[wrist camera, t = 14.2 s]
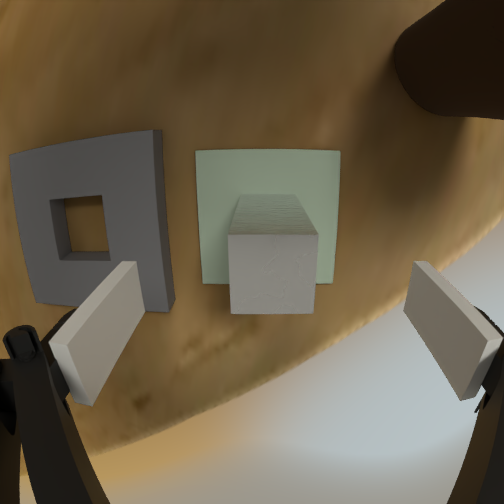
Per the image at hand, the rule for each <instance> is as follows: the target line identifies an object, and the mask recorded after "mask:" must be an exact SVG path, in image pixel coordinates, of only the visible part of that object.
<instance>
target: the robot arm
mask: <svg viewBox="0 0 504 504" xmlns="http://www.w3.org/2000/svg"><path fill="white" fill-rule="evenodd" d="M404 312H405V314H406V315H407V317H408V318H409V320H410V321H411V323H412V324H413V326H414V327H415V329H416V330H417V332H418V333H419V335H420V336H421V338H422V339H423V341H424V342H425V344H426V346H427V347H428V349H429V350H430V352H431V353H432V355H433V357H434V358H435V360H436V361H437V363H438V365H439V366H440V368H441V369H442V371H443V373H444V374H445V376H446V378H447V379H448V381H449V383H450V384H451V386H452V388H453V389H454V391H455V392H456V394H457V396H458V398H459V400H460V401H462V400H466V399H470V398H473V397H475V396H476V394H477V393H478V391H479V389H480V387H481V385H482V386H483V388H484V389H485V390H486V392H485V394H484V395H483V397H482V399H481V401H480V403H479V404H478V406H477V408H476V410H475V413H477V411H478V410H479V412H478V416H477V420H476V424H475V427H474V431H473V434H472V438H471V441H470V444H469V447H468V450H467V453H466V456H465V459H464V462H463V465H462V468H461V470H460V473H459V476H458V478H457V481H456V483H455V486H454V488H453V490H452V493H451V495H450V498H449V500H448V502H447V504H504V333H503V332H502V331H501V330H500V328H499V327H498V326H497V325H495V323H494V322H493V321H492V320H490V318H489V317H488V316H487V315H486V314H485V313H484V312H483V311H482V310H480V309H478V308H477V307H475V306H473V305H472V304H471V303H470V302H469V301H468V300H467V299H466V298H465V297H464V296H463V295H462V294H461V293H460V292H459V291H458V290H457V289H456V288H455V287H454V286H453V285H452V284H451V283H450V282H449V281H447V280H446V279H445V278H444V277H443V276H442V275H441V274H440V273H439V272H438V271H437V270H436V269H435V268H434V267H433V266H432V265H430V264H429V263H428V262H427V261H413V267H412V272H411V278H410V283H409V288H408V292H407V297H406V302H405V306H404ZM144 313H145V309H144V303H143V298H142V292H141V286H140V281H139V275H138V268H137V262H136V261H122V262H121V263H120V264H119V265H118V266H117V267H116V268H115V269H114V270H113V271H112V272H111V273H110V274H109V275H108V276H107V277H106V278H105V279H104V281H103V282H102V283H101V284H100V285H99V286H98V287H97V288H96V289H95V290H94V291H93V292H92V293H91V294H90V296H89V297H88V298H87V299H86V300H85V301H84V302H83V303H82V304H81V305H80V307H79V308H78V309H73V310H71V311H70V312H68V313H67V314H65V315H64V316H63V317H62V318H61V319H60V320H59V321H58V323H57V324H56V325H55V326H54V327H53V329H51V330H50V332H49V333H48V334H47V335H46V336H45V337H44V338H43V340H42V341H41V342H40V341H39V338H38V335H37V333H36V330H35V328H34V327H32V326H30V325H22V326H18V327H15V328H13V329H11V330H10V331H8V332H7V333H6V334H5V336H4V338H3V343H4V345H5V347H6V349H7V352H8V354H9V356H10V358H11V359H0V504H20V497H19V496H20V492H19V480H20V452H21V444H22V449H23V454H24V458H25V463H26V467H27V471H28V475H29V479H30V482H31V486H32V490H33V493H34V496H35V500H36V503H37V504H110V502H109V500H108V498H107V497H106V495H105V493H104V491H103V489H102V487H101V484H100V482H99V480H98V478H97V476H96V474H95V472H94V470H93V467H92V465H91V463H90V461H89V458H88V456H87V453H86V451H85V448H84V446H83V444H82V441H81V438H80V436H79V433H78V431H77V428H76V425H75V422H74V420H73V417H72V414H71V411H70V408H69V405H68V403H67V401H66V399H65V398H66V396H67V395H68V393H69V391H70V393H71V395H72V397H73V399H74V401H75V403H80V404H84V405H89V406H93V404H94V402H95V401H96V399H97V397H98V395H99V393H100V391H101V389H102V387H103V385H104V384H105V382H106V380H107V378H108V376H109V374H110V373H111V371H112V369H113V367H114V365H115V364H116V362H117V360H118V358H119V356H120V355H121V353H122V351H123V349H124V347H125V346H126V344H127V342H128V340H129V339H130V337H131V335H132V333H133V332H134V330H135V328H136V327H137V325H138V323H139V321H140V320H141V318H142V316H143V315H144Z"/></svg>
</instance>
